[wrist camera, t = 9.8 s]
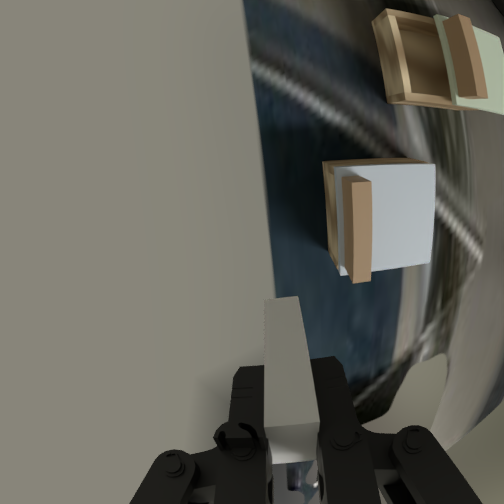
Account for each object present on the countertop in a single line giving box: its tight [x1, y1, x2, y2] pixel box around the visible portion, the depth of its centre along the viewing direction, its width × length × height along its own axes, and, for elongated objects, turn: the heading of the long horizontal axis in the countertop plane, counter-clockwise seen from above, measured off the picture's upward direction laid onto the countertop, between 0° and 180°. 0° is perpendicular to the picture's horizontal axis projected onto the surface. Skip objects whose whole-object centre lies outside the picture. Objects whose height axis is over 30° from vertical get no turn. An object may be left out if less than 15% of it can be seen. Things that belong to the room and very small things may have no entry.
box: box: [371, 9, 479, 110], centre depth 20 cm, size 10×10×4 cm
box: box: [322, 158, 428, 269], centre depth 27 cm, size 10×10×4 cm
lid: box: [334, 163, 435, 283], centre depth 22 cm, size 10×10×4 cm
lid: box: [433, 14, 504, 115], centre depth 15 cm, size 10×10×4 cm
